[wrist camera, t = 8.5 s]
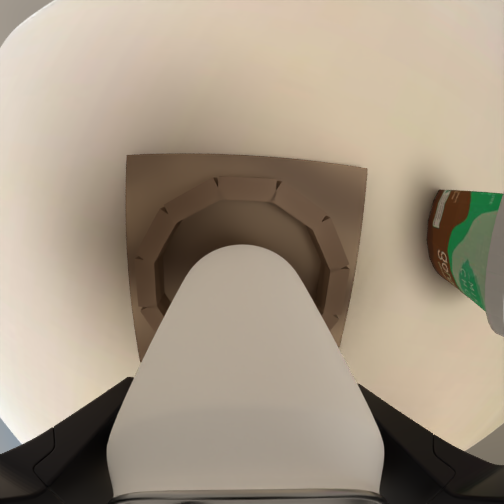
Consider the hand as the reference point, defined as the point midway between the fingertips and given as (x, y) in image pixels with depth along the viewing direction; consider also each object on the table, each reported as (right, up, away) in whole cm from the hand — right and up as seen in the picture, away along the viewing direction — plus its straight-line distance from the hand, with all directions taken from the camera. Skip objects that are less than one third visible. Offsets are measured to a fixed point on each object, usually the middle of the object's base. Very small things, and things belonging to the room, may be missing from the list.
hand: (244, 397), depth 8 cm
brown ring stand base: (0, +3, +11) cm, 11 cm away
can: (0, +2, +7) cm, 7 cm away
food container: (+17, +4, +12) cm, 21 cm away
